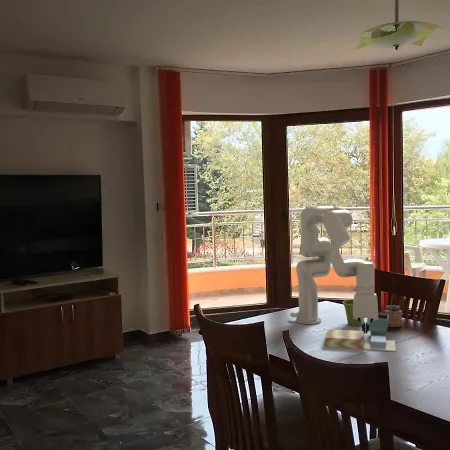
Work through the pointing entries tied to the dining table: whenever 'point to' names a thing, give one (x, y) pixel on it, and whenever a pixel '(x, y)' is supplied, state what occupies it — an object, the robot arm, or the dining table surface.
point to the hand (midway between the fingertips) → (365, 332)
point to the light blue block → (378, 341)
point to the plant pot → (350, 313)
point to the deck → (344, 339)
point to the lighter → (394, 316)
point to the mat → (389, 347)
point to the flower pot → (379, 325)
